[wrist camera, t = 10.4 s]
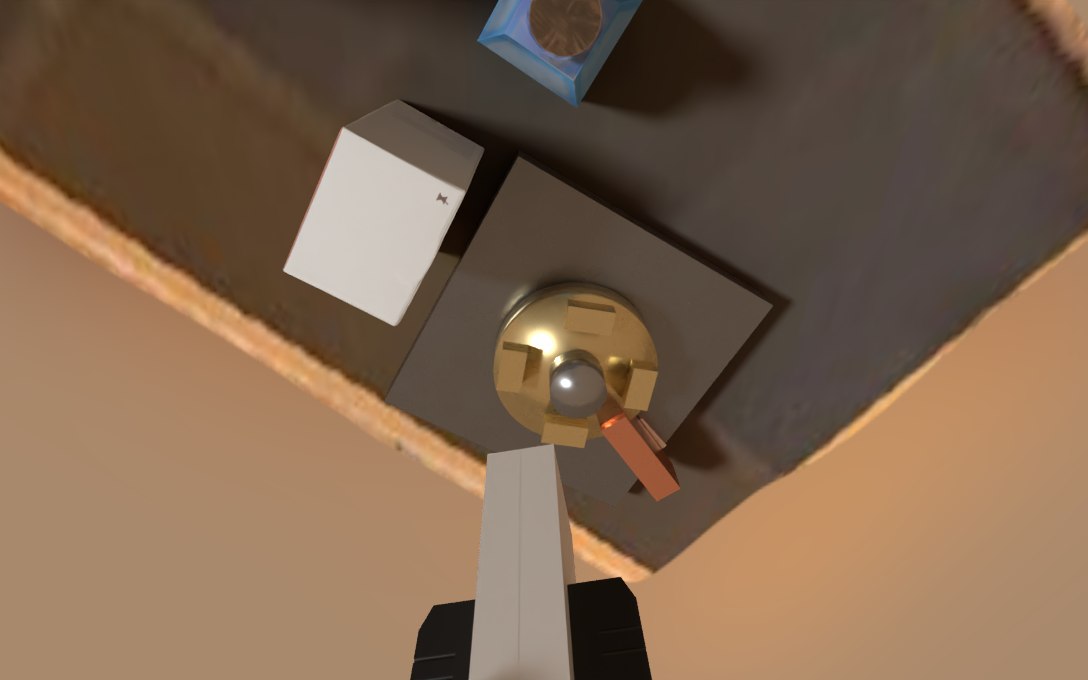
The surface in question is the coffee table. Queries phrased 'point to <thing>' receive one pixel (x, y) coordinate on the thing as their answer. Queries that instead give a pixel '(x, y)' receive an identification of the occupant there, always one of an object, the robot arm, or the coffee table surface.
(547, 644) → the robot arm
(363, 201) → the small box
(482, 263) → the flange plate
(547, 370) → the gold tabbed disc
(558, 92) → the perfume bottle
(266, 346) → the coffee table surface
